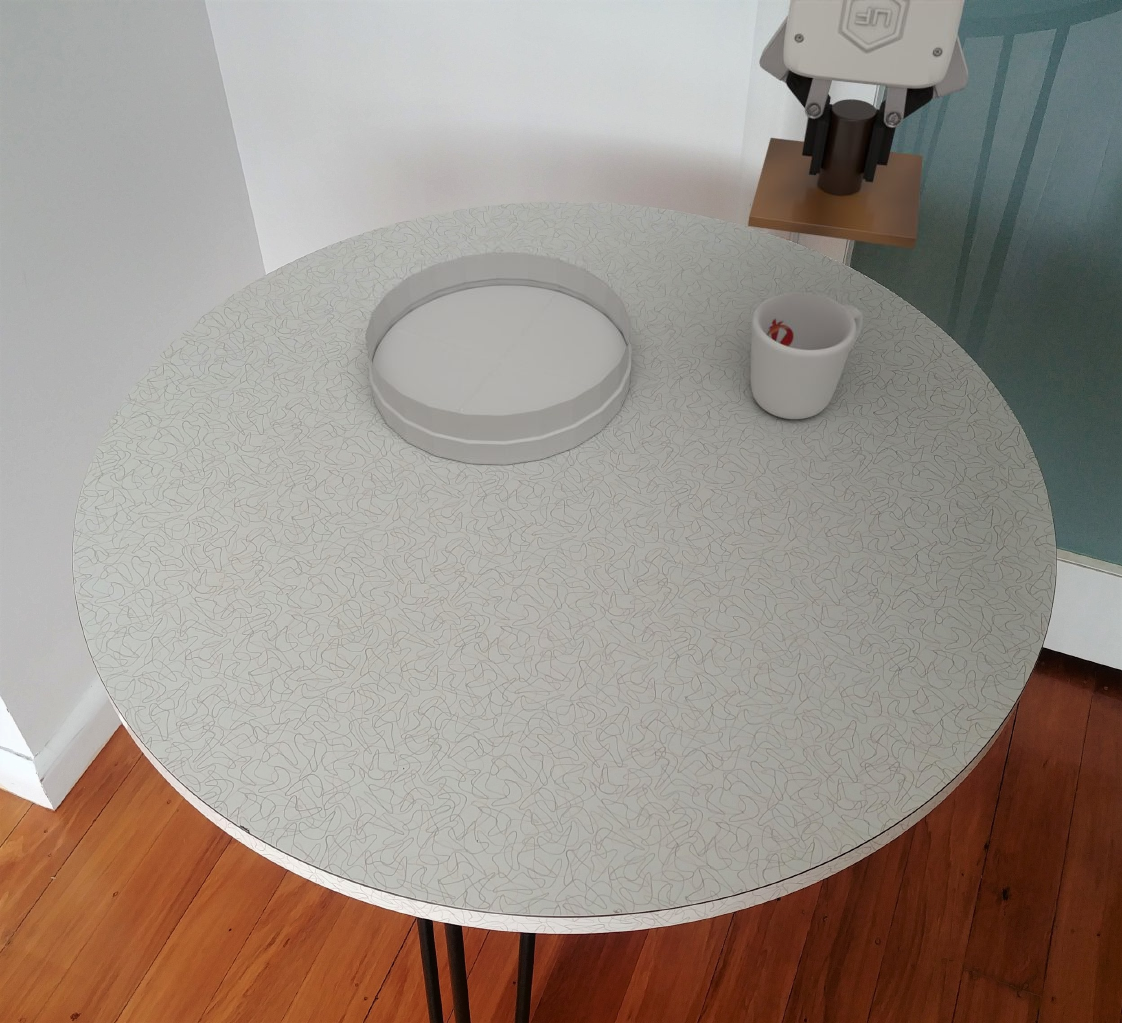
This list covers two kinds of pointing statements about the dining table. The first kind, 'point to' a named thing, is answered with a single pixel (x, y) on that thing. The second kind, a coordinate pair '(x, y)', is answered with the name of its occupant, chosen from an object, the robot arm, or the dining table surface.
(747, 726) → the dining table surface
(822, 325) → the cup
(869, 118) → the square peg stand
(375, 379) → the dish
